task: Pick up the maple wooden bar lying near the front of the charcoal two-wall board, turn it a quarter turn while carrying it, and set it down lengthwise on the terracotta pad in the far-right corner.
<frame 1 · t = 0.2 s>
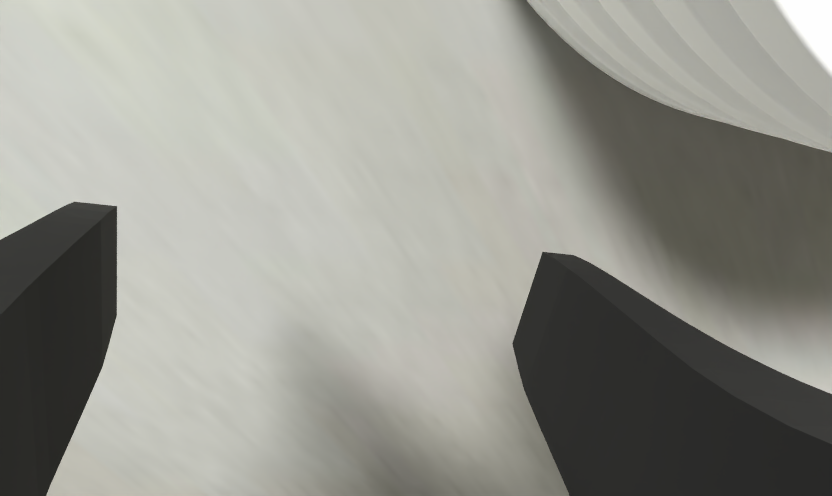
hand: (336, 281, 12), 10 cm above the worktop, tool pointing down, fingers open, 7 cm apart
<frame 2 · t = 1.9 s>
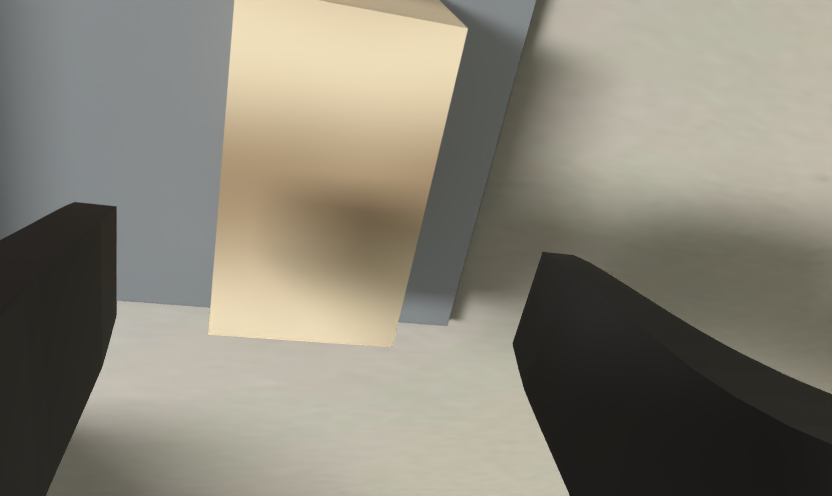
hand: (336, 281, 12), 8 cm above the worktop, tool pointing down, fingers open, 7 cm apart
maple bar: (319, 131, 18), point 1 cm above the worktop, touching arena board
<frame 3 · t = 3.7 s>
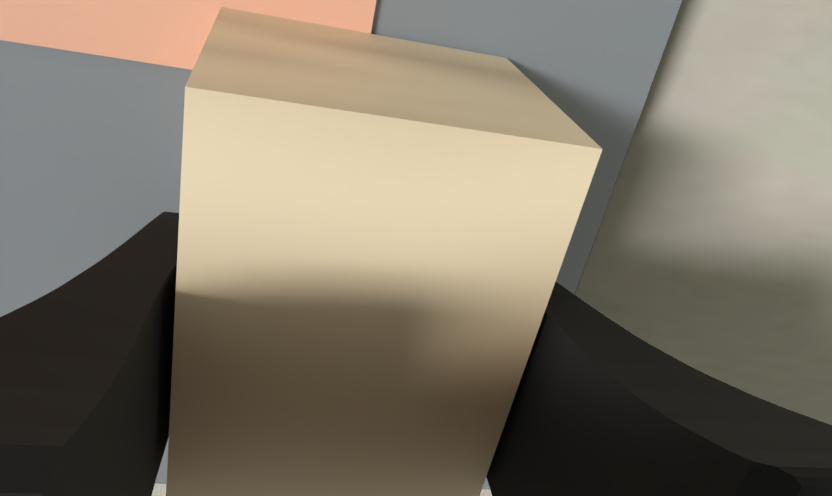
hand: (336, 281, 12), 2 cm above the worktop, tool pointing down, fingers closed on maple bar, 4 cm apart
maple bar: (333, 254, 12), point 1 cm above the worktop, touching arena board, gripper
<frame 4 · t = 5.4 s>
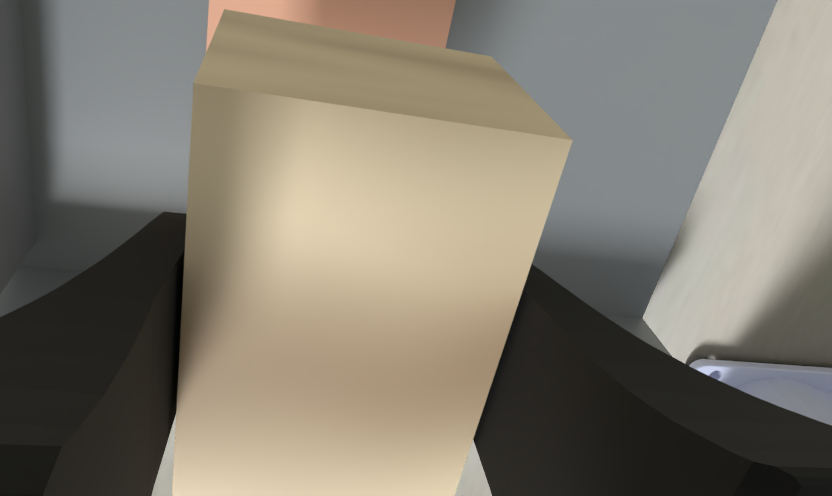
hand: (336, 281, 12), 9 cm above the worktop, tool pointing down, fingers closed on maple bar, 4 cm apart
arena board: (399, 61, 19), on the worktop
maple bar: (329, 242, 13), point 7 cm above the worktop, touching gripper
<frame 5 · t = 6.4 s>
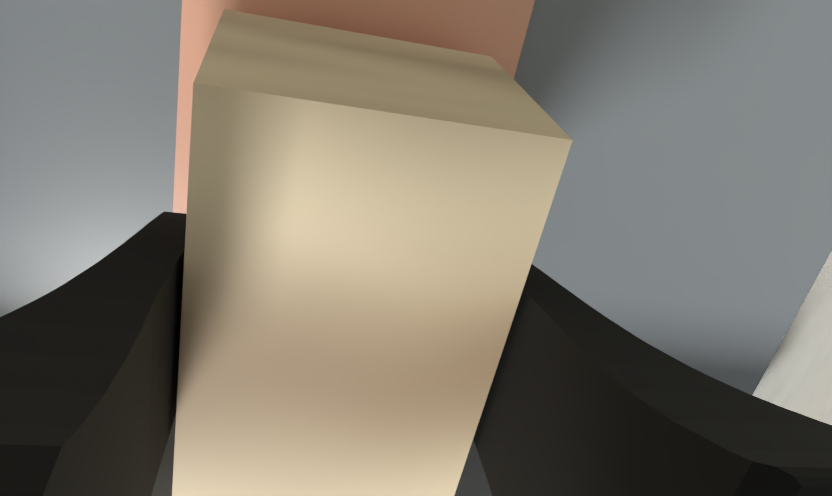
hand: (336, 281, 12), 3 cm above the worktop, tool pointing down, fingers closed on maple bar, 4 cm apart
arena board: (440, 127, 14), on the worktop
maple bar: (329, 241, 13), point 1 cm above the worktop, touching gripper
when the fingers open (3 cm above the worktop, at t = 6.9 s): maple bar stays where it is, resting on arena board.
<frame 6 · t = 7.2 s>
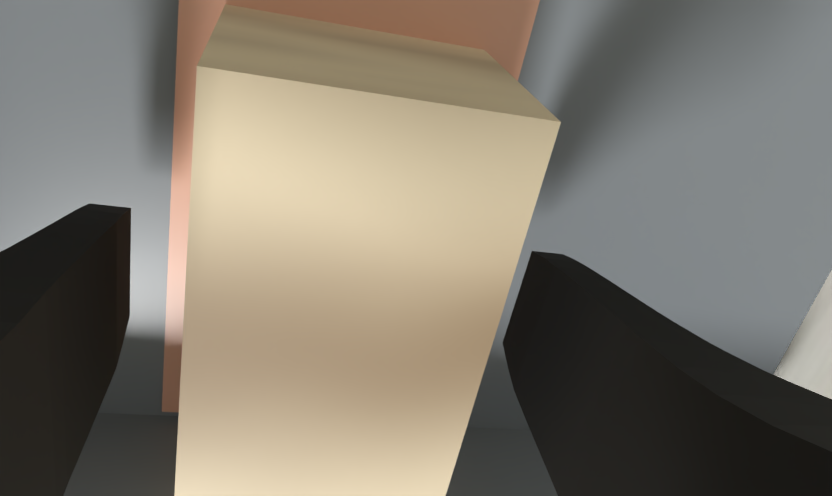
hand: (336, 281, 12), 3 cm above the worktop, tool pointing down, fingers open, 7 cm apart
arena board: (442, 132, 14), on the worktop
maple bar: (328, 232, 13), point 1 cm above the worktop, touching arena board
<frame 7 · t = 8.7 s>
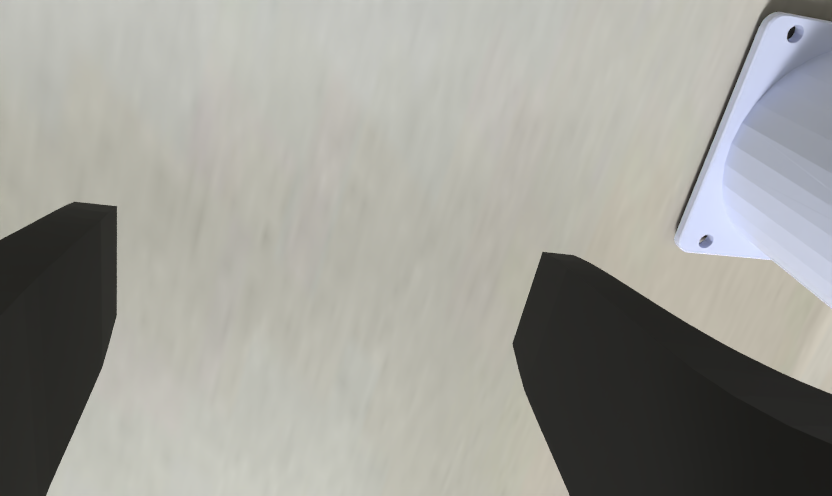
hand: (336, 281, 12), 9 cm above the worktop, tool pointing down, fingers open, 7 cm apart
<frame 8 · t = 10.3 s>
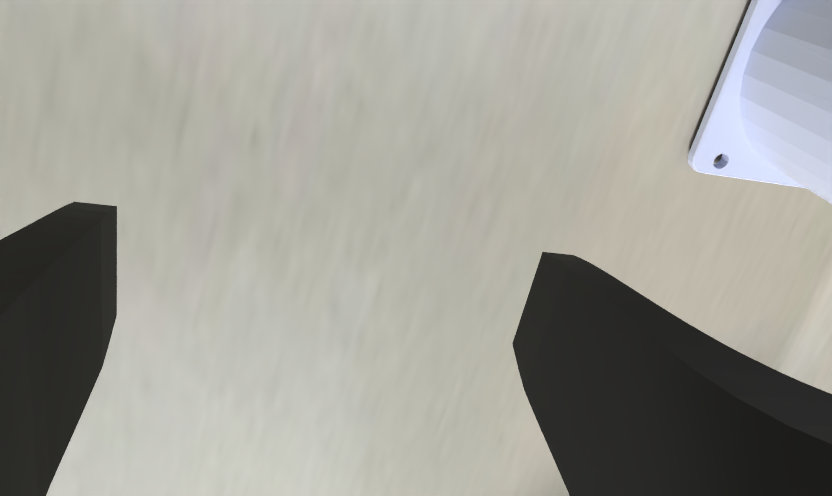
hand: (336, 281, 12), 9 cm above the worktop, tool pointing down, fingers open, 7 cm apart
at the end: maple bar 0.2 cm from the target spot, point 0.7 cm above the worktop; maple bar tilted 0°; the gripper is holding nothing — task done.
